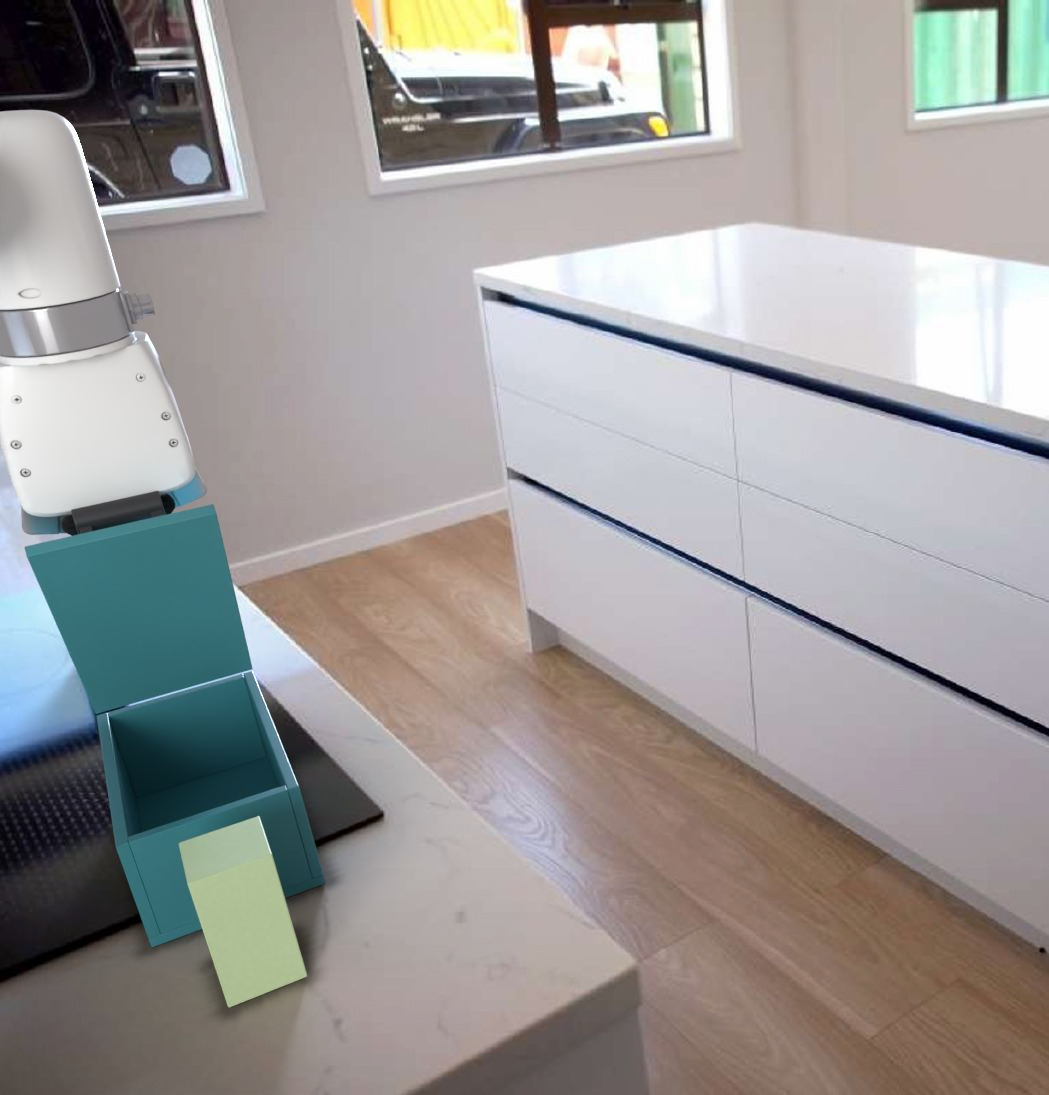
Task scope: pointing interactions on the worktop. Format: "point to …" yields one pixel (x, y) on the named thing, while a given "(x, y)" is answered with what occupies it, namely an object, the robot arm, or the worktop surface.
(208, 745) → the box
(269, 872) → the carton
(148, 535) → the lunchbox lid
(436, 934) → the worktop surface
